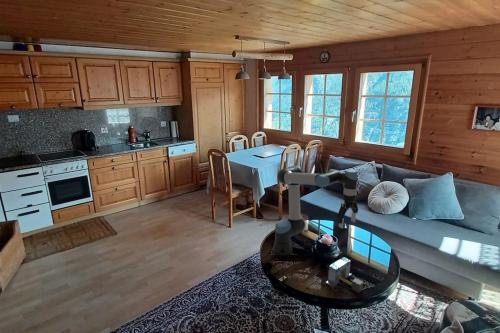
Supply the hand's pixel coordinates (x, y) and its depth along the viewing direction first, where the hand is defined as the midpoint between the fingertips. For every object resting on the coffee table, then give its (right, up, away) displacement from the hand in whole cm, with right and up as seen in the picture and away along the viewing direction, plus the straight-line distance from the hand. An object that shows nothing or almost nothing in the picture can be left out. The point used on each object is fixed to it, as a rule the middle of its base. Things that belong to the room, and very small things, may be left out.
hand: (347, 224), depth 188 cm
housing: (-5, -36, 0) cm, 36 cm away
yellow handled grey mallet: (-2, -37, -5) cm, 37 cm away
